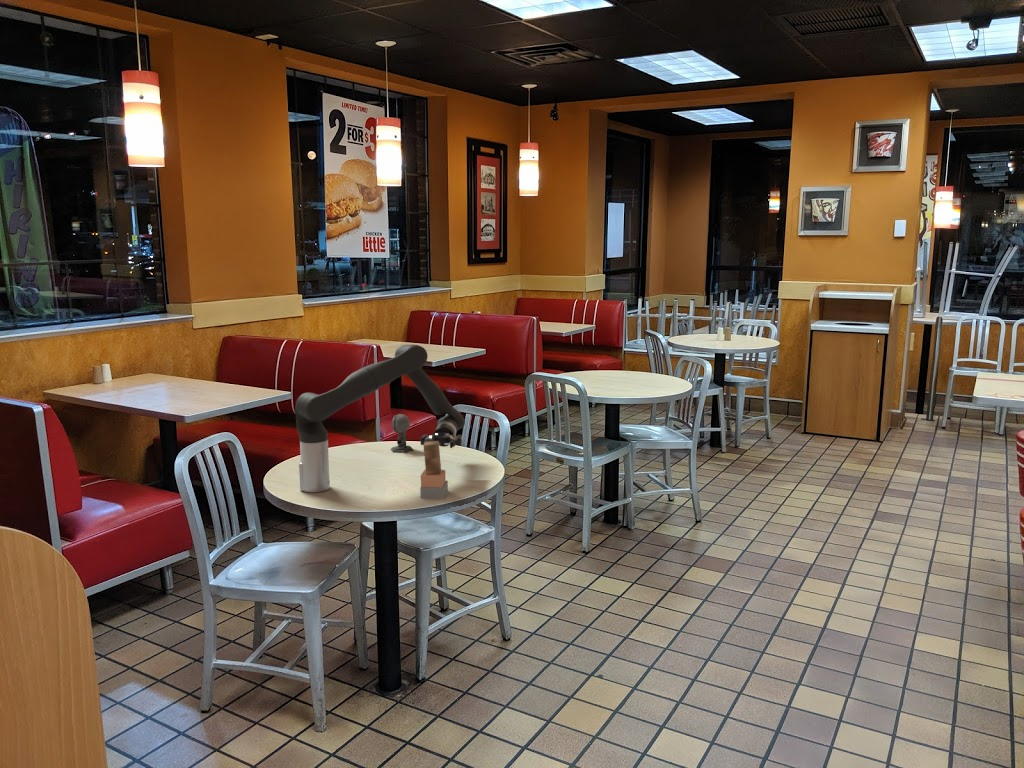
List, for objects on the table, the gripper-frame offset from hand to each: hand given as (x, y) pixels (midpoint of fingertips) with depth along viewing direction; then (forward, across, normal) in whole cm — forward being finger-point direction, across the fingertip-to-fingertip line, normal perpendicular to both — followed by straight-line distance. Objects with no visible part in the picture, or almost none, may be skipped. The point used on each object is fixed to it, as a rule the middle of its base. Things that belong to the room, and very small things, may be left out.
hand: (438, 445), depth 264 cm
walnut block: (+8, -1, +7) cm, 11 cm away
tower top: (+8, -1, +11) cm, 14 cm away
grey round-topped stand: (-48, -22, +15) cm, 55 cm away
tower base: (+8, 0, +15) cm, 17 cm away
